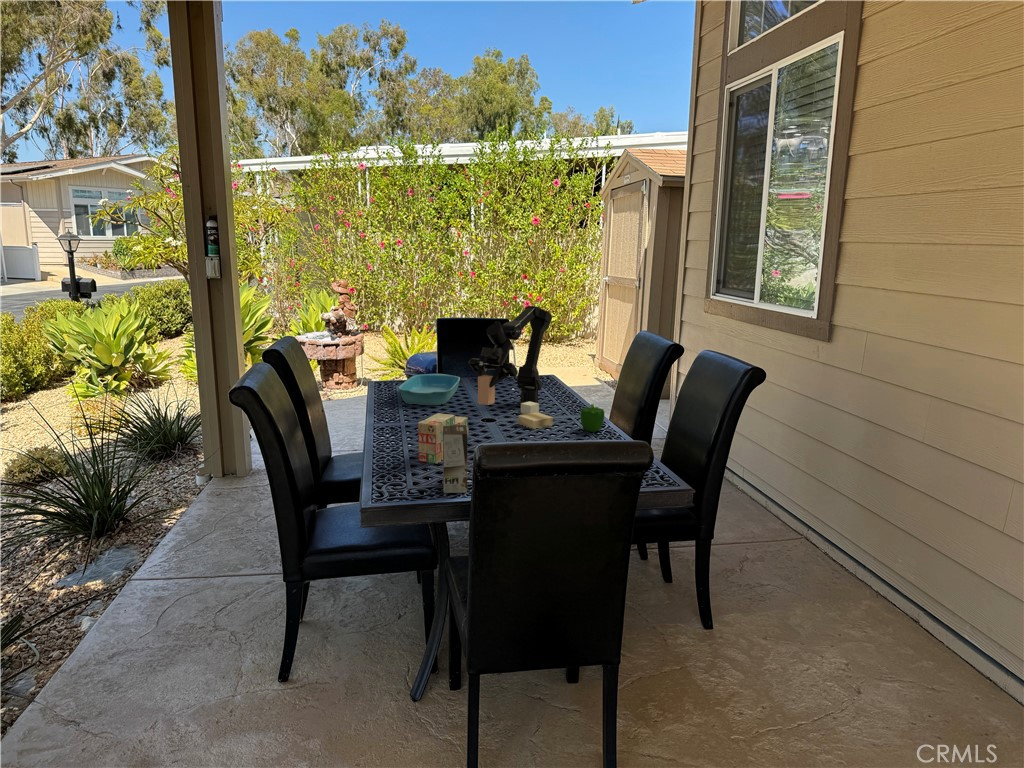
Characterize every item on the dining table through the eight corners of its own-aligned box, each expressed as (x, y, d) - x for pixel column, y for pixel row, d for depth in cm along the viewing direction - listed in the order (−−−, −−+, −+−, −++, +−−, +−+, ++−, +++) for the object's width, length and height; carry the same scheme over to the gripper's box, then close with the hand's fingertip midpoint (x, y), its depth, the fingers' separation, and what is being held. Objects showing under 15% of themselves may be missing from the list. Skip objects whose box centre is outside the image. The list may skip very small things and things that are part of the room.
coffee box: (467, 493, 171) (467, 433, 168) (443, 493, 170) (442, 434, 167) (466, 480, 180) (466, 424, 177) (443, 481, 179) (442, 424, 176)
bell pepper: (585, 425, 237) (586, 399, 235) (606, 429, 233) (608, 402, 231) (575, 431, 230) (576, 403, 228) (597, 434, 226) (598, 406, 224)
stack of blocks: (451, 442, 215) (451, 406, 212) (468, 445, 213) (468, 408, 210) (418, 461, 196) (417, 421, 193) (436, 464, 193) (436, 424, 191)
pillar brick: (484, 401, 243) (484, 374, 241) (494, 402, 241) (494, 376, 239) (477, 403, 239) (477, 376, 237) (488, 405, 237) (488, 378, 235)
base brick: (537, 421, 244) (537, 412, 243) (552, 426, 237) (553, 417, 236) (518, 424, 239) (518, 415, 238) (533, 430, 231) (533, 421, 231)
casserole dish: (447, 409, 259) (447, 391, 257) (393, 407, 261) (392, 389, 260) (464, 389, 295) (464, 374, 293) (415, 388, 297) (415, 372, 296)
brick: (529, 411, 258) (529, 401, 257) (538, 413, 254) (539, 403, 253) (520, 413, 254) (520, 403, 253) (530, 415, 251) (530, 405, 250)
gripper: (471, 336, 243) (454, 370, 236) (514, 341, 234) (498, 376, 227) (482, 354, 252) (466, 387, 245) (524, 359, 242) (509, 394, 235)
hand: (484, 386), depth 238 cm, fingers closed on pillar brick, 4 cm apart
